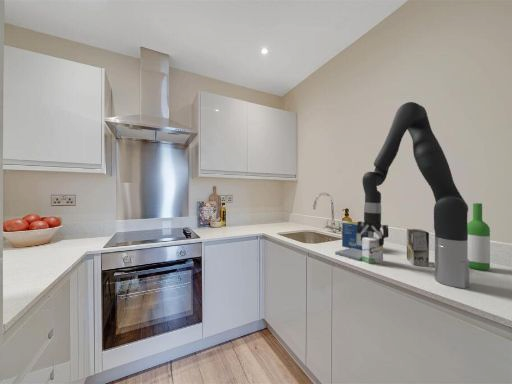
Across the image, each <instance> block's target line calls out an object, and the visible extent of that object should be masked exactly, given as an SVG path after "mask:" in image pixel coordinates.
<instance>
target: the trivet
mask: <svg viewBox="0 0 512 384" xmlns="http://www.w3.org/2000/svg"><path fill="white" fill-rule="evenodd" d="M334 253H335V255H337V256H340V257H344V258H347V259H351V260H354V261H357V262H361V261H362V250H359V249H355V248H345V249H341V250H338V251H337V250H336V251H335V252H334Z"/></svg>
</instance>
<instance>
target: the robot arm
mask: <svg viewBox="0 0 512 384" xmlns="http://www.w3.org/2000/svg"><path fill="white" fill-rule="evenodd" d="M407 131H408V133H409V135H410V137H411V140H412V141H411V142H412V150H413V151H412V153H413V157H414V160H415V163H416V165H417V167H418V170H419V172H420V173H421V175H422V176H423V179H424V180H425V181H426V183H427V184H428V186H429V187H430V189H431V191H432V194H433V197H434V200H435V201H434V202H435V203H434V207H433V229H434V280H435V281H436V282H438V283H439V284H441V285H442V284H443V285H445V286H450V287H453V288H454V287H455V288H460V289H467V288H468V287H469V285H470V268H469V260H468V230H467V224H468V212H469V206H468V204H467V202H466V201H465V200H464V198H463V196H462V195H461V193H460V191H459V190H458V188H457V186H456V184H455V182H454V178H453V175H452V172H451V168H450V164H449V162H448V160H447V157H446V155H445V153H444V150H443V148H442V146H441V144H440V143H439V141H438V139H437V137H436V135H435V134H434V132H433V129H432V127H431V123H430V120H429V117H428V114H427V111H426V108H425V107H424V106H423V105H421V104H419V103H416V102H413V101H409V102H406V103H404V104H402V105H400V107H398V109H397V110H396V112H395V115H394V117H393V120H392V123H391V127H390V129H389V131H388V134H387V136H386V139H385V141H384V143H383V145H382V147H381V149H380V150H379V152H378V154H377V156H376V157H375V160H374V162H373V166H374V167H375V168H374V171H367V172H365V173H364V174H363V177H362V180H361V181H362V183H361V184H362V187H363V192H364V207H363V221H361V220H360V221H357V222H358V226H357V232H358V233H360V234H361V241H362V238H365V233H366V232H367V231H369V232H370V231H371V232H374V233H375V234H376V235H377V236H378V238H379V246H382V245H383V246H384V244H385V239H386V238H389V225H388V224H382V223H381V222H382V194H381V192H380V191H379V190H378V186H379V187H380V186H381V185H383V184H384V183H385V181H386V178H387V176H388V173H389V170H390V169H389V168H390V167H391V165H392V164H393V162H394V160H395V159H396V157H397V155H398V152H399V149H400V145H401V142H402V140H403V137H404V135H405V134H406V132H407ZM363 225H364V226H365V228H364V229H363V230H362V226H363Z"/></svg>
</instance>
